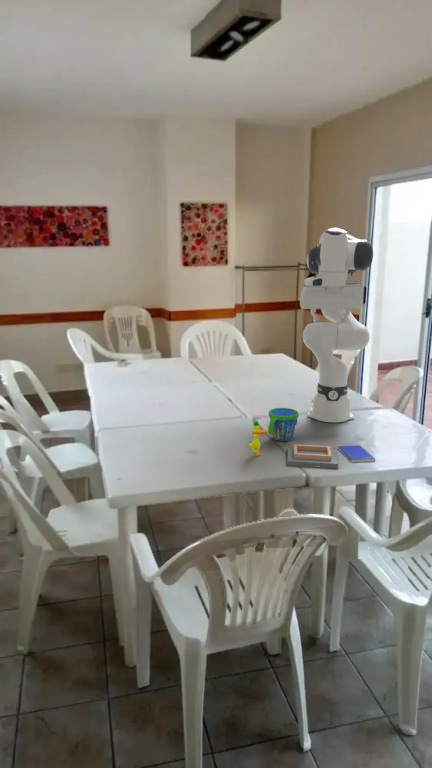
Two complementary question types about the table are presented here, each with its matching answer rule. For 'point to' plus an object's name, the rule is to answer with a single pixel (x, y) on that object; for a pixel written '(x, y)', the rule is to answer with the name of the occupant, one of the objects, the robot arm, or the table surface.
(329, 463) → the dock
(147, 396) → the table surface
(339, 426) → the table surface
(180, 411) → the table surface
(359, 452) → the hard drive
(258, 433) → the toy figure
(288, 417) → the snack cup
